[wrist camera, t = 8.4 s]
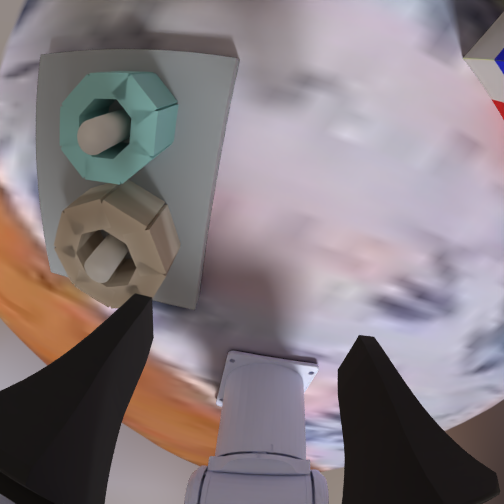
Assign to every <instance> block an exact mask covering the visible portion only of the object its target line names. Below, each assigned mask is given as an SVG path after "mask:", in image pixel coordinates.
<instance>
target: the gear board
mask: <svg viewBox="0 0 504 504" xmlns="http://www.w3.org/2000/svg"><path fill="white" fill-rule="evenodd" d="M239 61H240V60H239V59H237V58H233V57H227V56H220V55H212V54H204V53H194V52H183V51H170V50H151V49H101V50H82V51H69V52H59V53H50V54H43V55H41V56H40V64H39V74H38V86H37V102H36V160H37V177H38V190H39V200H40V209H41V217H42V224H43V231H44V237H45V243H46V249H47V254H48V260H49V265H50V269H51V272H53V273H56V274H59V275H63V276H66V277H68V275H67V273H66V271H65V269H64V267H63V265H62V263H61V261H60V260H59V258H58V255H57V253H56V251H55V249H54V248H55V246H54V241H55V237H56V233H57V229H58V225H59V221H60V217H61V213H62V211H63V210H64V209H65V208H66V207H67V206H69V205H70V204H71V203H72V202H74V201H75V200H76V199H77V198H79V197H80V196H81V195H83V194H84V193H85V192H86V191H88V190H89V189H90V188H94V187H97V186H100V185H104V184H107V183H105V182H99V181H92V180H85V177H84V178H82V176H81V175H80V174H79V172H78V171H77V170H76V169H75V167H74V166H73V165H72V163H71V162H70V161H69V159H68V158H67V157H66V155H65V154H64V153H63V151H62V150H61V147H62V146H60V107H61V106H62V103H63V101H64V100H65V99H66V98H67V96H68V95H69V94H70V93H71V92H72V91H73V89H74V88H75V87H76V86H77V85H78V84H79V83H80V82H81V80H82V79H83V78H84V77H85V76H86V75H87V74H90V73H96V72H111V71H139V72H154V73H156V74H157V75H158V77H159V78H160V79H161V81H162V82H163V83H164V84H165V86H166V87H167V88H168V90H169V91H170V92H171V93H172V95H173V96H174V97H175V99H176V100H177V101H178V102H177V103H176V104H179V106H178V113H177V120H176V127H175V135H174V142H172V144H171V145H170V146H169V147H168V148H166V149H165V150H164V151H163V152H161V153H160V154H159V155H158V156H156V157H155V158H154V159H153V160H151V161H150V162H149V163H148V164H147V165H145V166H144V167H143V168H142V169H140V170H139V171H138V172H137V173H135V174H134V175H133V176H132V177H130V178H129V180H130V181H132V182H134V183H135V184H137V185H138V186H140V187H142V188H143V189H145V190H147V191H148V192H150V193H152V194H153V195H155V196H156V197H158V198H160V199H161V200H163V201H165V204H164V205H168V207H169V210H170V213H171V217H172V220H173V223H174V226H175V229H176V232H177V235H178V238H179V241H180V243H181V244H180V249H179V251H178V253H177V255H176V257H175V259H174V261H173V263H172V265H171V267H170V269H169V271H168V273H167V276H166V277H165V279H164V281H163V282H162V284H161V286H160V287H159V289H158V290H157V292H156V294H155V295H154V297H153V299H152V300H154V301H158V302H162V303H166V304H170V305H175V306H179V307H183V308H188V309H192V310H195V308H196V305H197V302H198V298H199V294H200V286H201V278H202V271H203V264H204V257H205V250H206V243H207V236H208V229H209V223H210V216H211V210H212V204H213V197H214V191H215V185H216V179H217V174H218V168H219V162H220V157H221V151H222V145H223V140H224V135H225V129H226V124H227V119H228V114H229V109H230V104H231V99H232V94H233V89H234V84H235V79H236V75H237V70H238V65H239ZM130 130H131V117H130V116H129V115H128V113H127V112H126V111H125V110H124V108H123V107H122V106H121V104H120V103H119V102H118V100H117V99H116V100H115V101H114V102H113V103H112V104H111V105H110V106H109V113H107V114H104V115H101V116H98V117H95V118H92V119H89V120H86V121H85V122H83V123H82V124H81V126H80V127H79V129H78V133H77V140H78V144H79V146H80V148H81V149H82V150H83V151H84V152H85V153H87V154H89V155H97V154H99V153H101V152H103V151H105V150H106V149H108V148H110V147H112V146H114V145H116V144H118V143H119V142H124V143H130ZM100 231H101V234H102V236H103V238H104V240H103V241H102V242H101V243H100V244H99V246H98V247H97V248H96V249H95V250H94V251H93V253H92V254H91V255H90V256H89V257H88V259H87V260H86V261H85V264H84V268H85V271H86V273H87V275H88V276H89V277H90V278H91V279H92V280H94V281H96V282H98V283H105V282H107V281H108V280H109V279H110V277H111V276H112V274H113V273H114V271H115V270H116V268H117V267H118V265H119V264H120V262H121V261H122V260H123V258H125V259H131V258H132V257H131V254H130V252H129V249H128V247H127V245H126V244H125V243H124V242H122V241H121V240H119V239H117V238H116V237H114V236H112V235H111V234H109V233H108V232H106V231H105V230H103V229H102V230H100Z"/></svg>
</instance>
